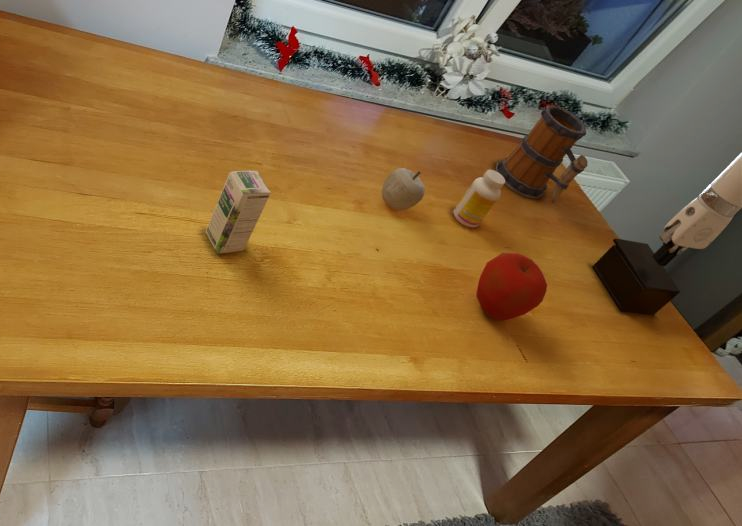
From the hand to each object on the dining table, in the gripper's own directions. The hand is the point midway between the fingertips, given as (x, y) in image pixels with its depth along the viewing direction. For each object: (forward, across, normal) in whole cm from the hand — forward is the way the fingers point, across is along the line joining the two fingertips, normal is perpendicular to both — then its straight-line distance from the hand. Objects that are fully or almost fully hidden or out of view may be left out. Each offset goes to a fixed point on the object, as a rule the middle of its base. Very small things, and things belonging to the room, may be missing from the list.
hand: (658, 261), depth 153 cm
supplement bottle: (+10, -39, +17) cm, 44 cm away
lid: (+3, -1, +1) cm, 3 cm away
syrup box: (+10, -99, -1) cm, 100 cm away
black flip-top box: (+11, -1, 0) cm, 11 cm away
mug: (+10, -12, +35) cm, 38 cm away
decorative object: (+10, -58, +18) cm, 61 cm away
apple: (+11, -45, -10) cm, 47 cm away
